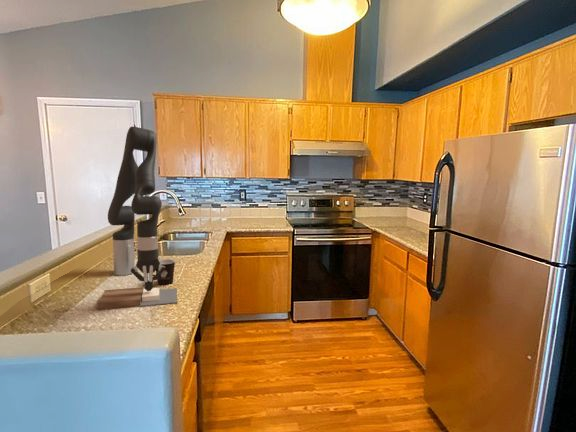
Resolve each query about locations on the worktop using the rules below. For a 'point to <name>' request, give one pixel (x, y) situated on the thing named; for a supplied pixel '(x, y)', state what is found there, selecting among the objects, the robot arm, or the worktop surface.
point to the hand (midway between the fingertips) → (148, 290)
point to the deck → (120, 298)
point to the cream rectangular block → (150, 295)
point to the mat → (163, 298)
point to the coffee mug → (166, 272)
